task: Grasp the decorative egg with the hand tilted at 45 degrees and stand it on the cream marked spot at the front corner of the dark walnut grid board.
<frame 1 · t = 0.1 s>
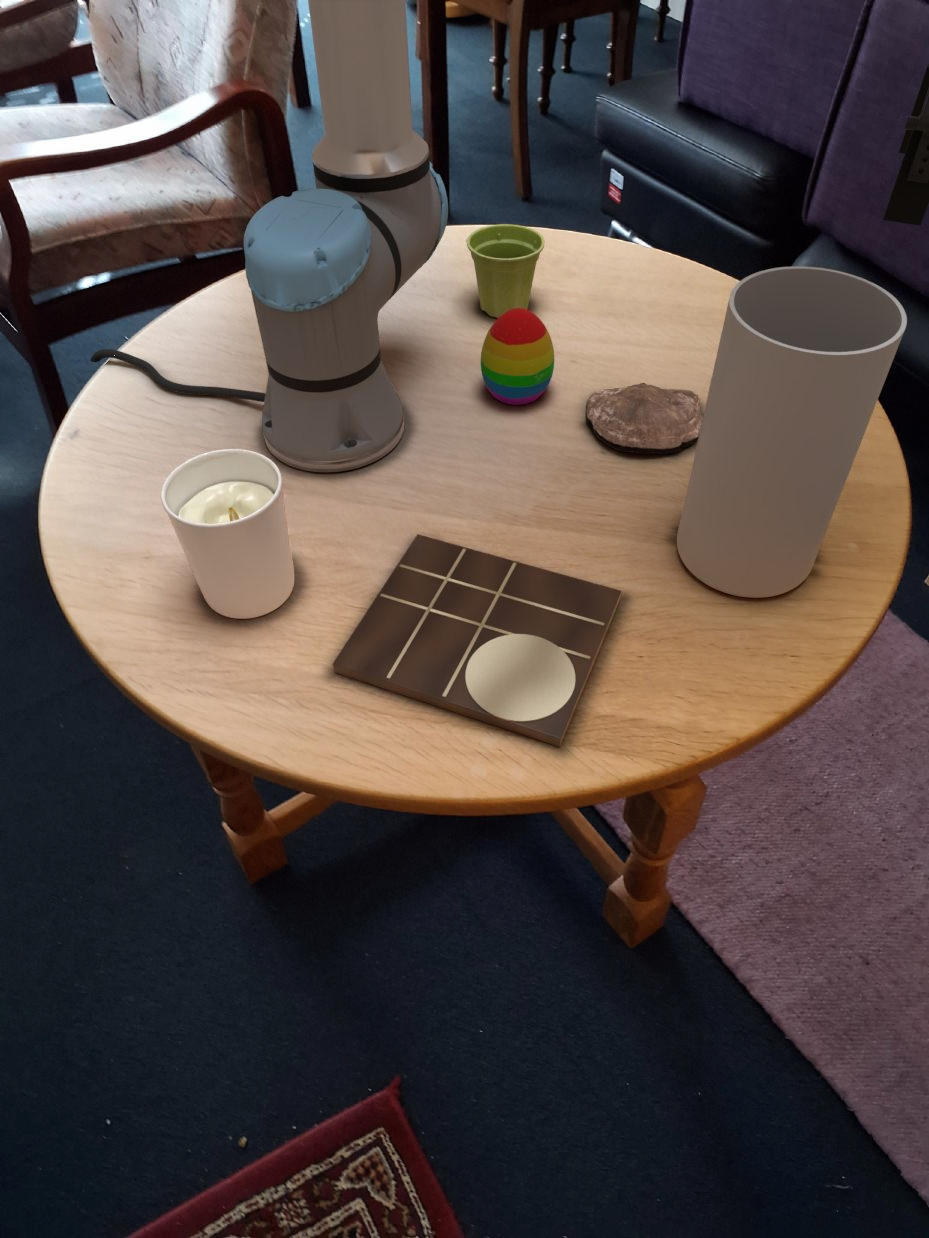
hand: (909, 185, 72), 28 cm above the table, tool pointing down, fingers open, 13 cm apart
cylinder vase: (742, 555, 84), on the table
board: (481, 634, 78), on the table
decorative egg: (516, 393, 102), on the table
candle holder: (250, 587, 82), on the table
plant pot: (504, 308, 115), on the table
shell: (641, 426, 98), on the table
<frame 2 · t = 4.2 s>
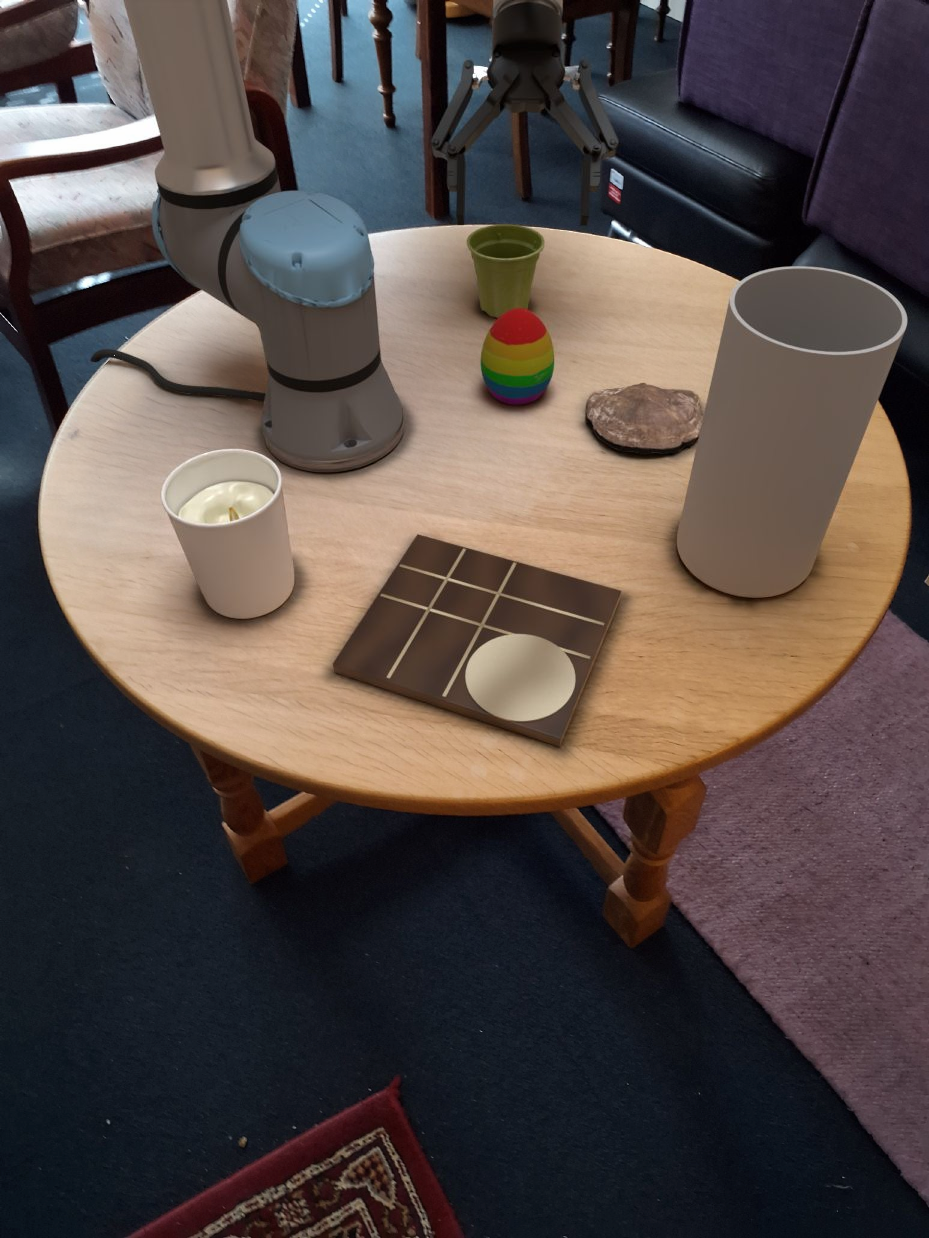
hand: (522, 221, 98), 15 cm above the table, tool tilted 45°, fingers open, 13 cm apart
nothing on the table moved.
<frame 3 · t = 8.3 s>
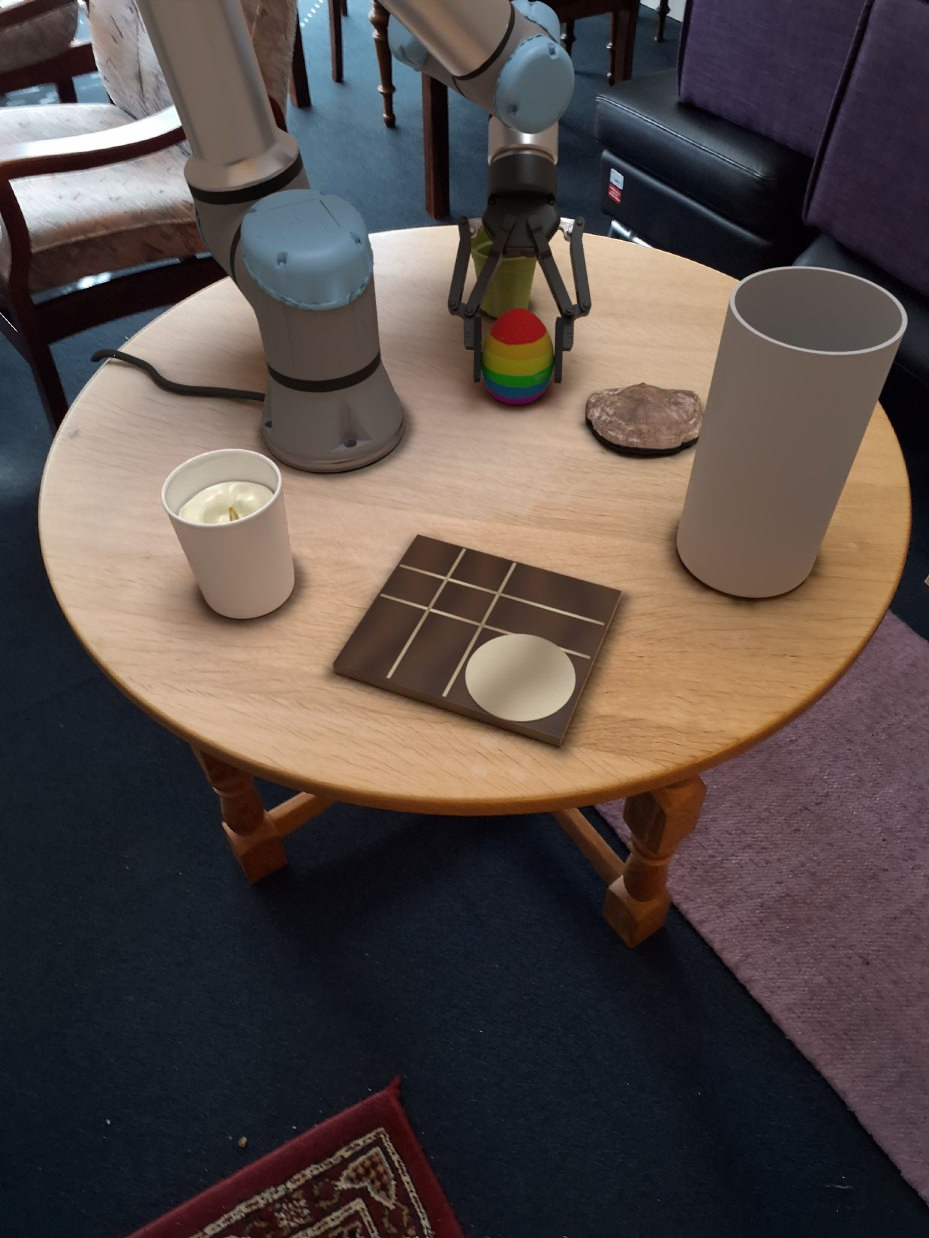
hand: (517, 380, 97), 4 cm above the table, tool tilted 45°, fingers closed on decorative egg, 8 cm apart
decorative egg: (516, 393, 102), on the table, touching gripper
everything else where it was.
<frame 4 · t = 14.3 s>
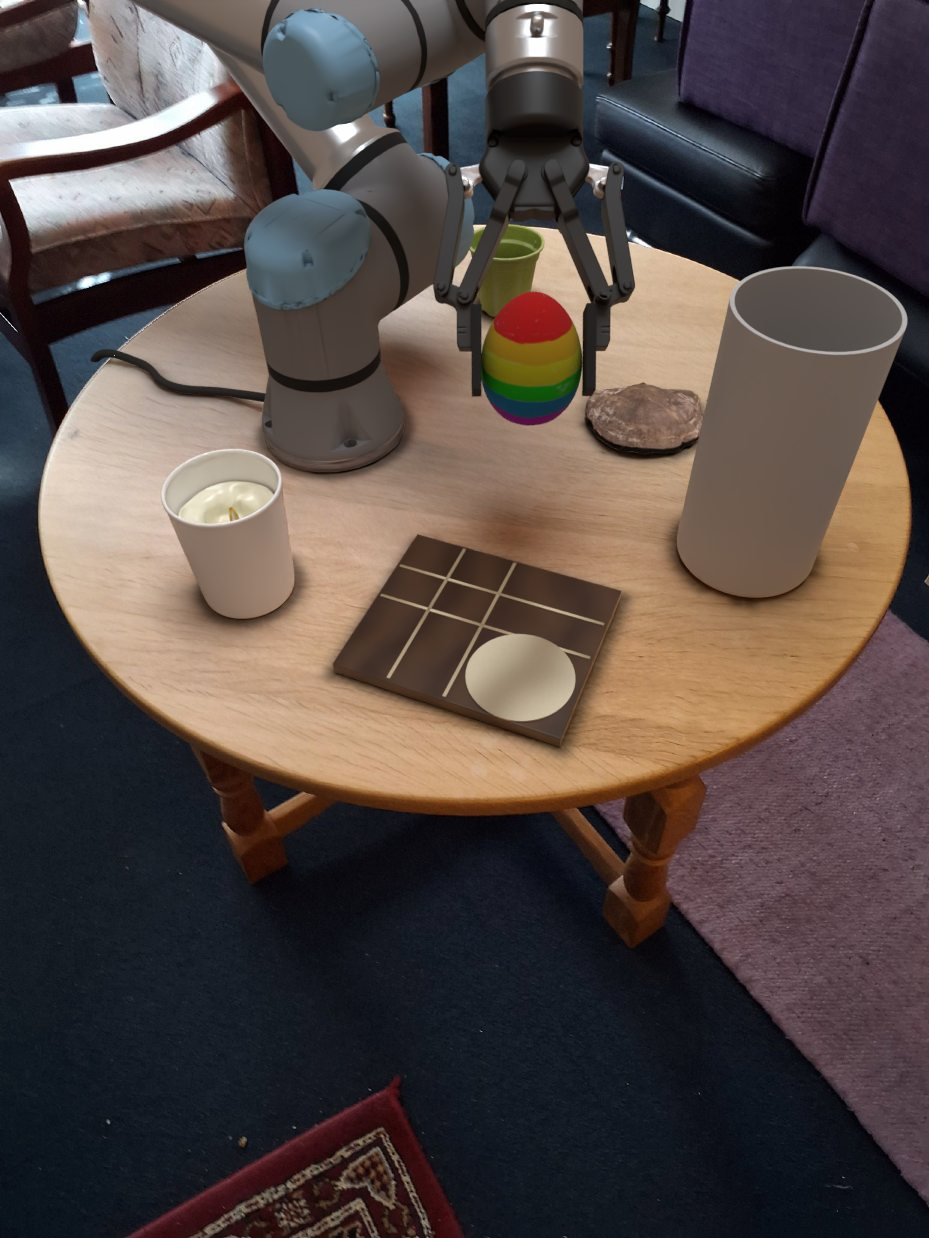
hand: (532, 392, 70), 19 cm above the table, tool tilted 45°, fingers closed on decorative egg, 8 cm apart
decorative egg: (529, 408, 75), point 15 cm above the table, touching gripper
everything else where it was.
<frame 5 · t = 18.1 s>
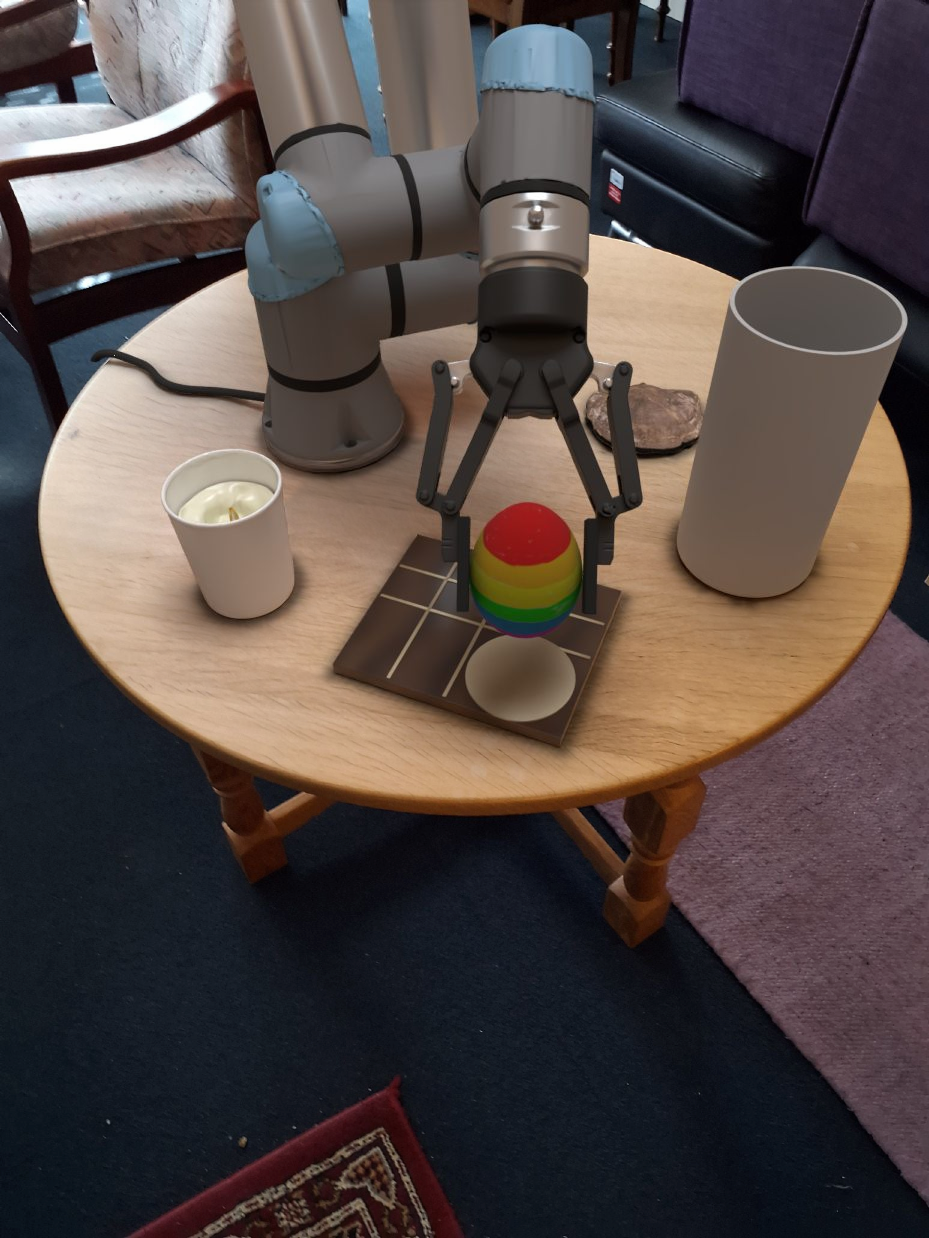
hand: (525, 611, 62), 13 cm above the table, tool tilted 45°, fingers closed on decorative egg, 8 cm apart
decorative egg: (523, 613, 67), point 9 cm above the table, touching gripper
everything else where it was.
when the fingers open (5 cm above the table, at t = 20.7 s): decorative egg stays where it is, resting on board.
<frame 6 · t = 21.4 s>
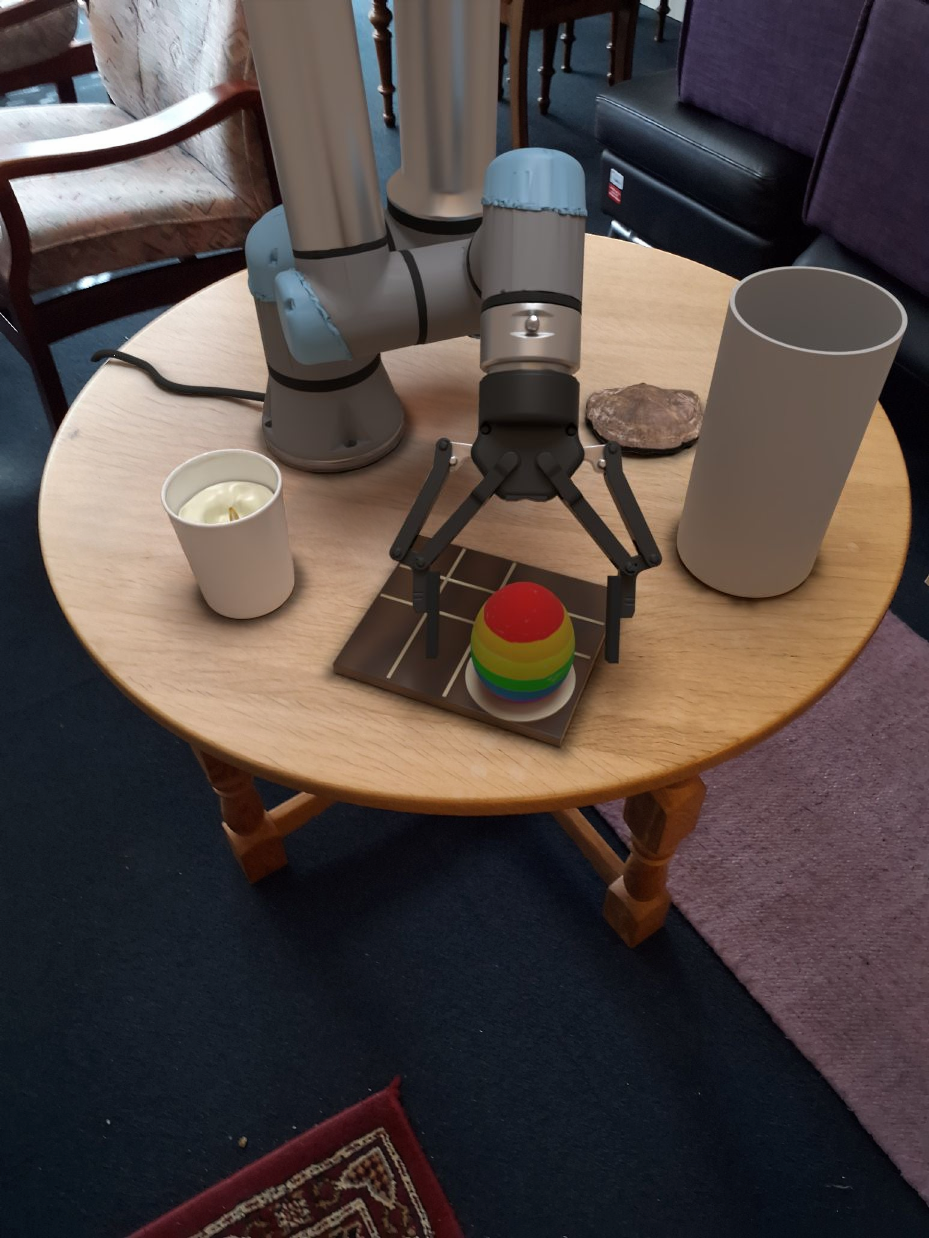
hand: (521, 659, 68), 6 cm above the table, tool tilted 45°, fingers open, 13 cm apart
decorative egg: (520, 677, 73), point 1 cm above the table, touching board
everything else where it was.
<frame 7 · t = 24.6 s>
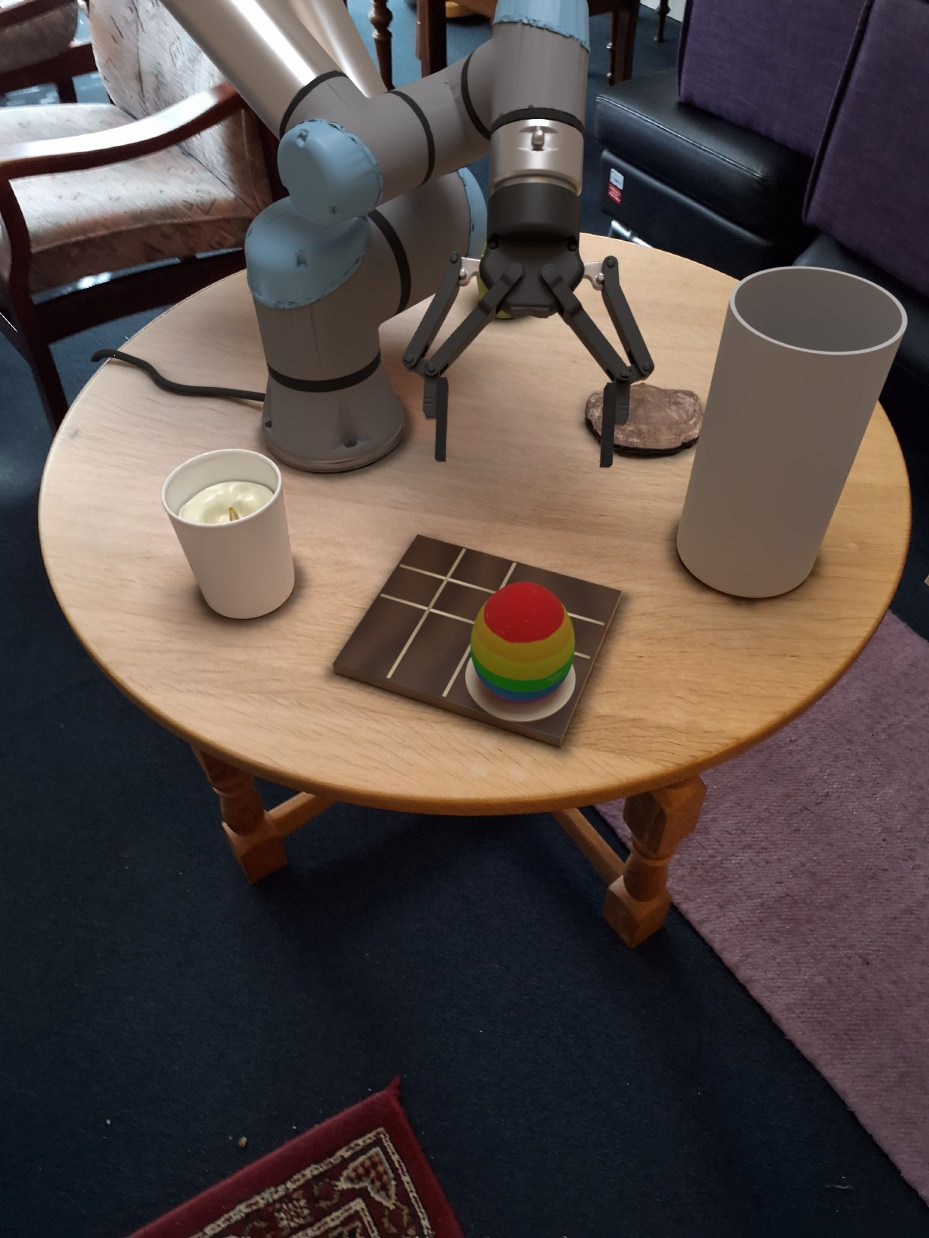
hand: (522, 463, 73), 13 cm above the table, tool tilted 45°, fingers open, 13 cm apart
nothing on the table moved.
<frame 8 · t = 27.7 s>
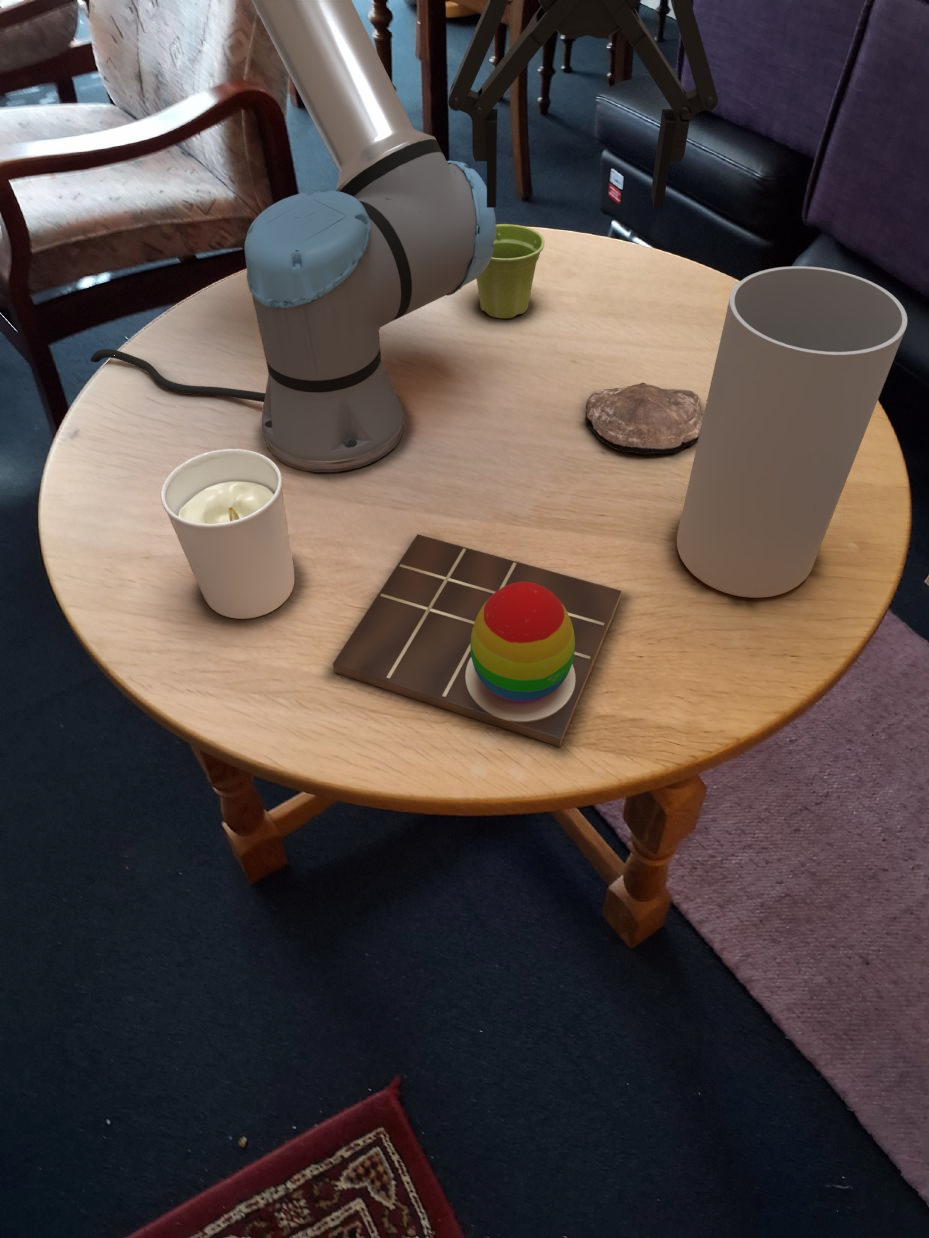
hand: (573, 201, 74), 27 cm above the table, tool pointing down, fingers open, 13 cm apart
nothing on the table moved.
at the end: decorative egg 0.1 cm from the target spot on the board, point 1.2 cm above the board's base; decorative egg tilted 0°; the gripper is holding nothing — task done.
